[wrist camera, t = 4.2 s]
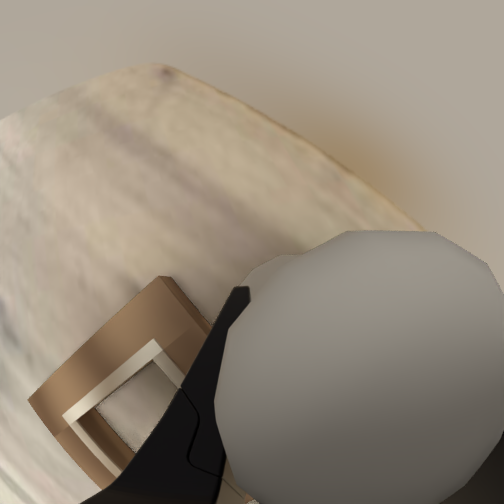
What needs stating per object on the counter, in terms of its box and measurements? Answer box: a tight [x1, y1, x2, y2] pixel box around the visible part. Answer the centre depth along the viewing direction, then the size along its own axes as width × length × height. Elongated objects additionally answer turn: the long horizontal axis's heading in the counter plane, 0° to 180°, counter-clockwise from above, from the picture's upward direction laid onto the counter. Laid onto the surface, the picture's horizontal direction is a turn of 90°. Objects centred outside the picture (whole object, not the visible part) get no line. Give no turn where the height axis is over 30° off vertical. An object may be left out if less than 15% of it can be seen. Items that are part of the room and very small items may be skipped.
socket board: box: [28, 276, 253, 504], centre depth 16 cm, size 14×14×3 cm
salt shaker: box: [214, 230, 504, 504], centre depth 9 cm, size 6×6×13 cm
